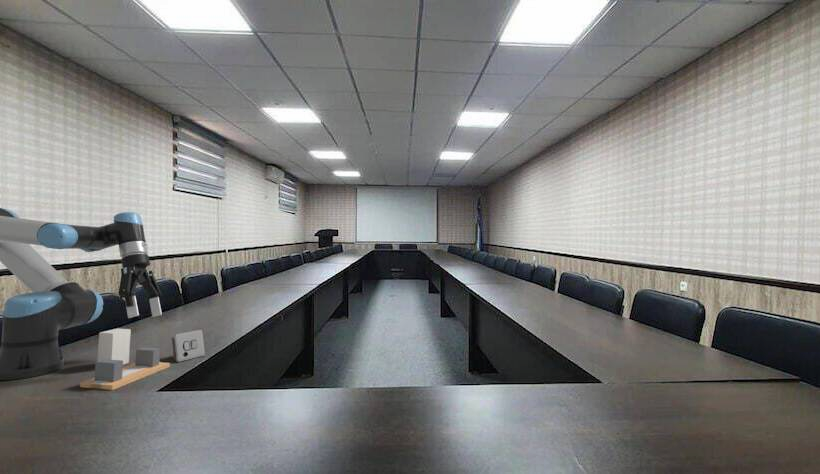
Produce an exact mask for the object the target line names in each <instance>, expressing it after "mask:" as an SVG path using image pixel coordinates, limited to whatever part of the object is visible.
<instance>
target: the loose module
mask: <svg viewBox="0 0 820 474" xmlns="http://www.w3.org/2000/svg"><path fill="white" fill-rule="evenodd" d="M131 334H132V333H131V329H130V328H113V329H109V330H104V331H101V332H99V334H98V349H97V361H100V360H104V359H109V360H122V361H123V365H126V364H129V363H130V362H129V361H130V348H131V347H130V346H131Z"/></svg>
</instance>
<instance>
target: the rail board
mask: <svg viewBox="0 0 820 474" xmlns="http://www.w3.org/2000/svg"><path fill="white" fill-rule="evenodd" d="M160 355H161V347H160V348H159V347H140V348H137V349H136V351H135V363H132V364H131V365H127V366H124V364H123V361H122V360H109V359H104V360H100V361H98V360H97V361H95V363H94V364H95V367H94V377H92V378H90V379H87V380H84V381H82V382H80V383H79V384H80V385H79V387H80V388H87V389H88V388H89V389H98V390H110V391H113V390H115V389H118V388H120V387H123V386H126V385H128V384H131V383H134V382H135V381H138V380H141V379H143V378H146V377H147V376H150V375H153V374H155V373H158V372H160V371H163V370H165V369H168V368H170V367H171V363H170V362H162V361H160V357H161V356H160ZM123 366H124V367H123Z"/></svg>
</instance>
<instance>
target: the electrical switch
mask: <svg viewBox="0 0 820 474" xmlns="http://www.w3.org/2000/svg"><path fill="white" fill-rule="evenodd" d="M171 343H172V352H173V353H172V354H173V360H174V361H176V362H177V363H181V362H184V361H188V360H192V359H196V358H200V357H204V356H205V354H206V353H205V352H206V351H205V343H204V335H203V330H202V329H198V330H197V329H196V330H193V331H187V332H181V333H176V334H174V335H173V337H172V338H171Z"/></svg>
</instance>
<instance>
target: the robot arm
mask: <svg viewBox="0 0 820 474" xmlns="http://www.w3.org/2000/svg"><path fill="white" fill-rule="evenodd" d="M145 236H146V235H145V231H144V223H143V221H142V218H141V215H140V214H139V213H136V212H134V211H133V212H132V211H131V212H130V211H126V212H119V213H117V214H115V215H114V216H113V223H109V224H105V225H102V226H87V225H76V224H75V225H73V224H67V223H66V224H65V223H58V222H57V223H56V222H50V221H43V220H34V219H29V218H28V219H27V218H22V217H21V218H20V217H19V215H18V214H16V213H15V212H14V211H12V210H10V209H7V208H2V207H0V263H1V264H2V265H3V266H4V267H6V269H8V271H9V272H11V273H12V274H13V275H14V276H15V277H16V278H17V279H18V280H19V281H20V282H21V283H22V284H23V285H24V286H25V287H26V288H27V289H29V290H30V292H27V293H21V294H17V295H14V296H12V297H9V298H8V299H7V300H6V301H5V303H4V307H3V311H2V328H1V329H2V330H1V343H0V344H1V345H0V381H10V380H20V379H28V378H34V377H37V376H42V375H46V374H50V373H53V372H56V371H59V370H61V369H62V368H64V365H65V357H64V356H63V351H62V350H61V347H60V345H59V341H58V340H59V331H61V330H65V329H70V328H74V327H77V326H78V327H79V326H83V325H86V324H89V323H91V322H94V321H96V319H98V318H99V316H100V315H101V314H102V312H103V309H104V307H103V306H104V300H103V297H102V296H101V293H98V292H97V291H95V290H91V289H84V288H83V287H82V286H81V285H80V284H79V283H78V282H76V281H68V280H66V278H65V277H63V275H61V274H60V273H59V271H58V270H57V269H56V268H54V267H53V266H52V265H51V264H50V263H49V262H48V261H47V260H46V259H45V258H44V257H43V256H42V255H41V254H40V253H39V252H38V251H36V249H35V248H34V247H32V246H31V245H34V246H42V247H44V248H47V249H53V250H65V249H66V250H67V249H70V250H71V249H73V250H75V249H78V250H81V251H84V252H86V253H93V252H99V251H102V250H105V249H109V248H111V247H115V246H118V248H119V249H118V251H119V256H120V258H121V259H120V260H121V261H120V262H121V267H122V268H120V273H121V275H120V281H119V287H118V291H117V292H118V293H117V294H118V295H119V298H120V299H124V302H125V303H124V304H125V309H126V313H127V314H126V315H127V318H128V319H131V318H134V317H138V316H140V313H139V308H138V304H137V303H138V302H137V298H136V297H137V296H136V295H134V293H135V290H136V289H137V286H138V284H139V285H140V286H142V288H143V289H144V290H145V292H146V294H147V295H148V296H149V301H148V302H149V305H150V312H151V317H152V318H155V317H157V316H162V315H163V313H162V308H161V303H160V298H161V297H162V296H163V293H162V292H161V289H160V287H159V285H158V282H157V281H156V278H155V276H154V272H153V270H147V267H149V266H150V265H151V261H150V256H149V255H148V254H149V251H148V247H149V246H148V244H147V242H146V237H145Z"/></svg>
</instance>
